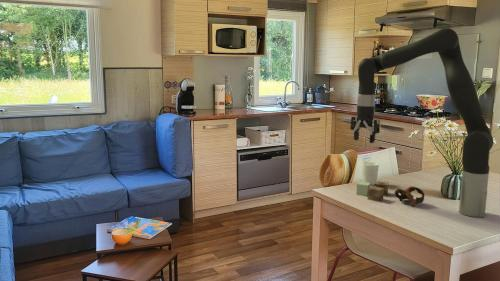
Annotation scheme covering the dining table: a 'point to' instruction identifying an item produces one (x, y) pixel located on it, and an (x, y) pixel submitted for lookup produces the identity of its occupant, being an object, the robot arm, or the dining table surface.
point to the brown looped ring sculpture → (410, 195)
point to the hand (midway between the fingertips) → (363, 141)
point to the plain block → (363, 188)
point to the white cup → (370, 172)
